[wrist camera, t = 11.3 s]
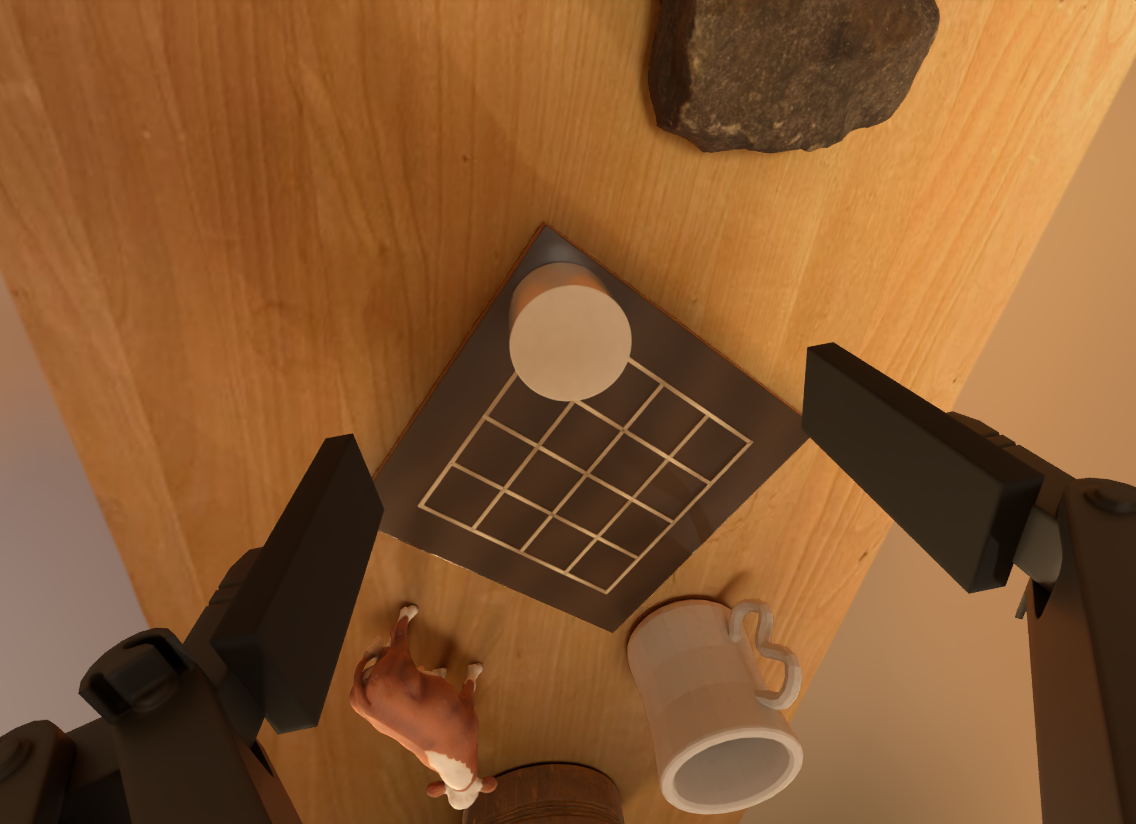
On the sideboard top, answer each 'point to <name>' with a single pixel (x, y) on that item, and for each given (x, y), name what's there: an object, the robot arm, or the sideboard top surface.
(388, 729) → the bull figurine
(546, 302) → the white short cylinder
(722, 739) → the mug
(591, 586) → the grid board
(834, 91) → the stone
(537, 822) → the wooden container
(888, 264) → the sideboard top surface
